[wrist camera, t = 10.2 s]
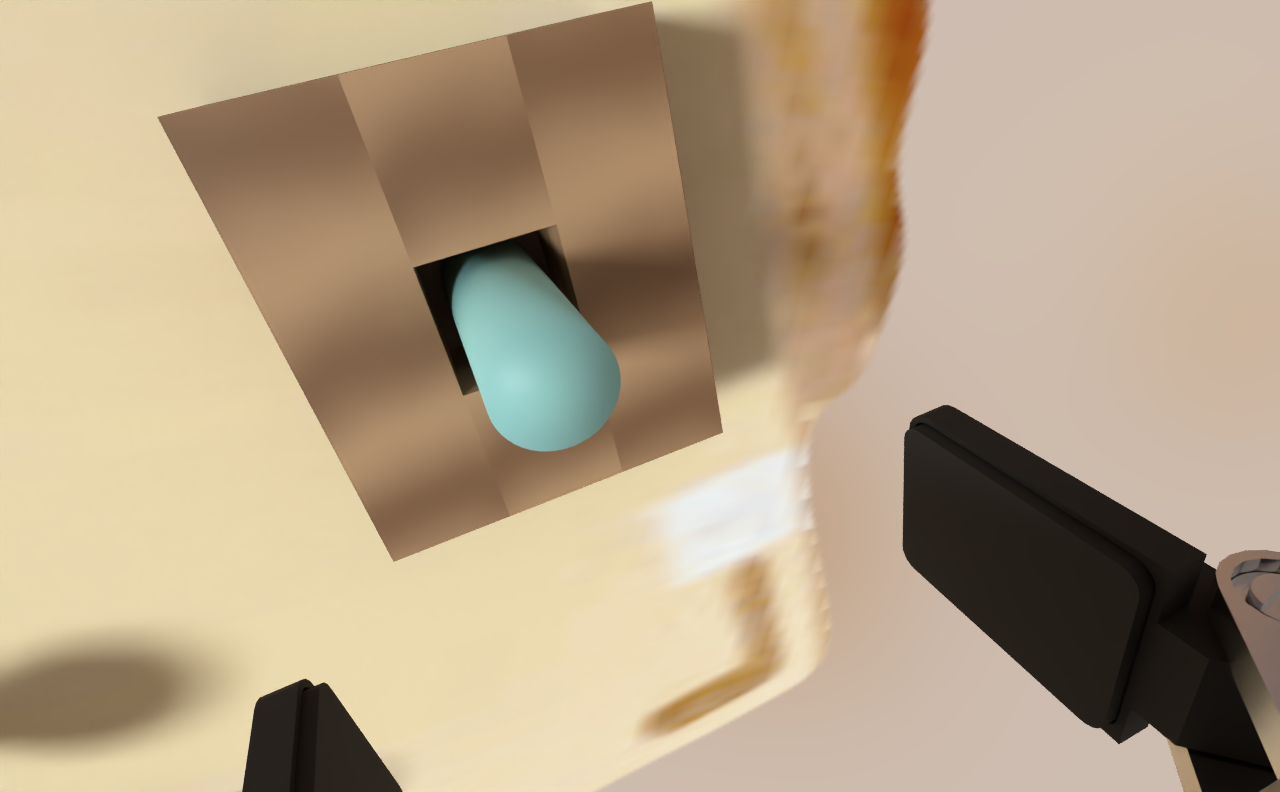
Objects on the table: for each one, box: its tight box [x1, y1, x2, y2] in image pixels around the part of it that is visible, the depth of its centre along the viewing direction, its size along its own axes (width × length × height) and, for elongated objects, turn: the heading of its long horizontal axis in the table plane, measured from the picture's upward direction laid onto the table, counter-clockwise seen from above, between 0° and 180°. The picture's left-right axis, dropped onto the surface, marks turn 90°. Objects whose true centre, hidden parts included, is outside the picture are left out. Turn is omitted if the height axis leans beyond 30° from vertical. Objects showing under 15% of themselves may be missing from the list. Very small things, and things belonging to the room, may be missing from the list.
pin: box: [441, 238, 621, 451], centre depth 22 cm, size 4×4×11 cm
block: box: [158, 2, 723, 561], centre depth 25 cm, size 16×14×6 cm
